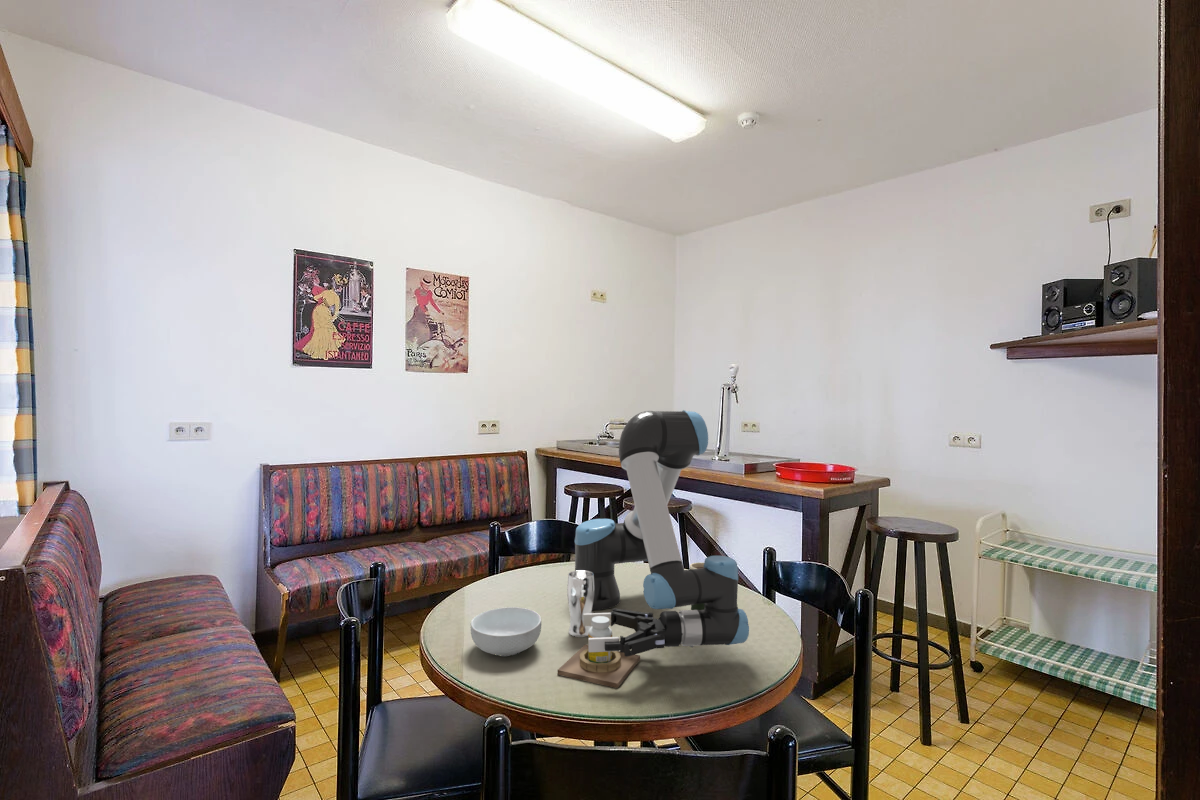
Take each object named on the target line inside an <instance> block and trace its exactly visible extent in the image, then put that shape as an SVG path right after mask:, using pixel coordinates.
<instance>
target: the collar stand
mask: <svg viewBox="0 0 1200 800" xmlns="http://www.w3.org/2000/svg"><path fill="white" fill-rule="evenodd" d="M640 661H641V655H639V654H635V655H632V656H625V655H624V653H622V652H620V651H612V661H611V662H608V663H594V662H589V661H588V644H583V646H582V647H581V648H579V650H577V651H576V652H575V653H574V654H573V655H572V656H571V657H569V659H567V660H566V661H565V662H564V663H563V664H562V665H561V666H560V667H559V668H558V669H557V675H558V676H561V677H562V676H563V677H566V678H567V677H568V678H571V679H575V680H580V681H585V682H588V683H593V684H598V685H601V686H605V687H610V688H614V689H618V688H619V687H620V685H622V683H623V682H624V681H625V680H626V678H627V677H628V676H629V675H630V674H631V672H632V671H633V670H634V668H635V667H636V666H637V665H638V663H639V662H640Z"/></svg>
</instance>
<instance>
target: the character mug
mask: <svg viewBox="0 0 1200 800" xmlns="http://www.w3.org/2000/svg"><path fill="white" fill-rule="evenodd" d="M699 568H704V562H693V563H690V564H689V570H690V569H699ZM690 610H704V603H702V604H694V605H690Z"/></svg>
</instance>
